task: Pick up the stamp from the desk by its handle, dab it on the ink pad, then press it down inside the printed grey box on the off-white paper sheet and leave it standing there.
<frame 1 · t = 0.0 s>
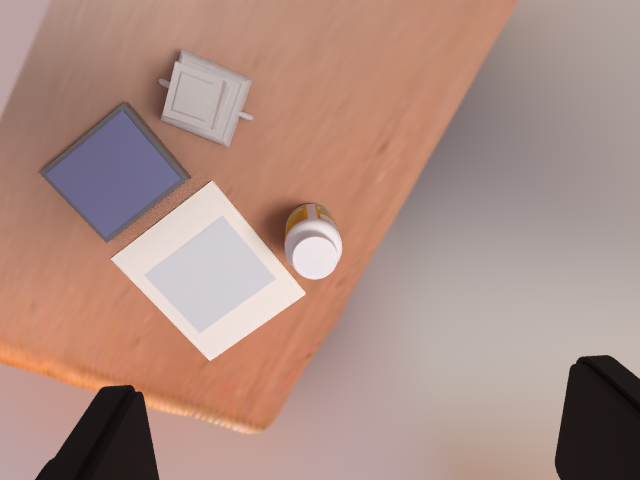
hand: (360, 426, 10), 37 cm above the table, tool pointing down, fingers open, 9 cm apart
supplement bottle: (310, 226, 47), on the table
stamp: (211, 100, 43), on the table
paper: (211, 276, 48), on the table
ink pad: (119, 174, 44), on the table
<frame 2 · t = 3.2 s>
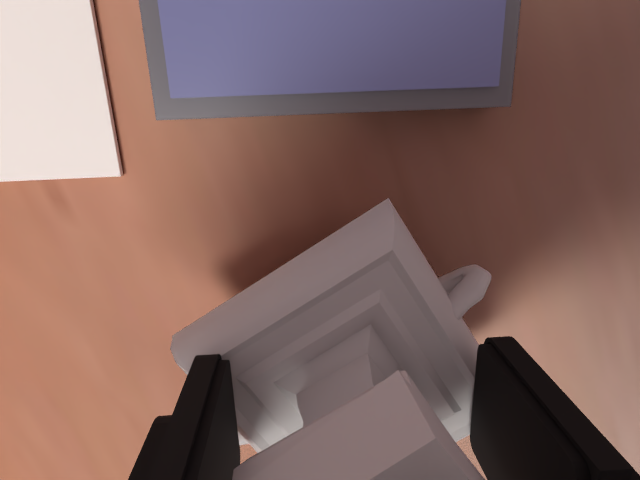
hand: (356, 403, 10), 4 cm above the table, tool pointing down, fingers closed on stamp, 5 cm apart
stamp: (336, 316, 14), on the table, touching gripper
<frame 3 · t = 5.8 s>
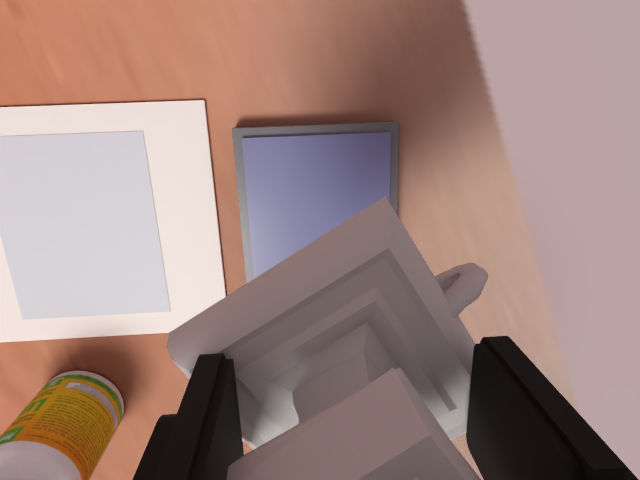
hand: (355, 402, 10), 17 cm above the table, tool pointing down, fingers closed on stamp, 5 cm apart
supplement bottle: (86, 400, 30), on the table
stamp: (333, 314, 14), point 13 cm above the table, touching gripper
paper: (81, 229, 26), on the table
ink pad: (318, 218, 26), on the table
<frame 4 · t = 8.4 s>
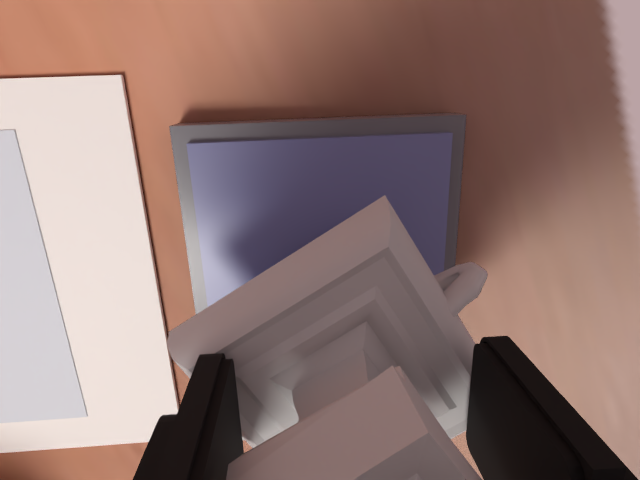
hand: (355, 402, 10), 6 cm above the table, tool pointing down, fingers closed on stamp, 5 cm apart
stamp: (333, 313, 14), point 2 cm above the table, touching gripper
ink pad: (323, 272, 16), on the table
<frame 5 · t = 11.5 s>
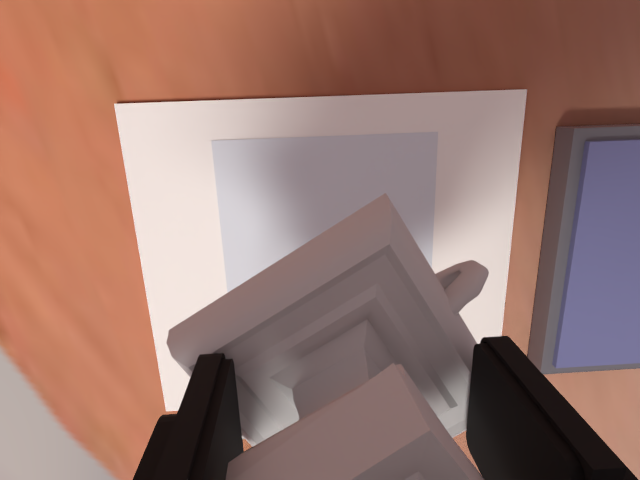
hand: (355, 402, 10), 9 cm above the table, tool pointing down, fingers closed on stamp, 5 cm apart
stamp: (333, 312, 14), point 5 cm above the table, touching gripper
paper: (329, 263, 19), on the table
ink pad: (637, 248, 20), on the table
when the fingers open (5 cm above the table, at t = 13.8 s): stamp stays where it is, resting on paper.
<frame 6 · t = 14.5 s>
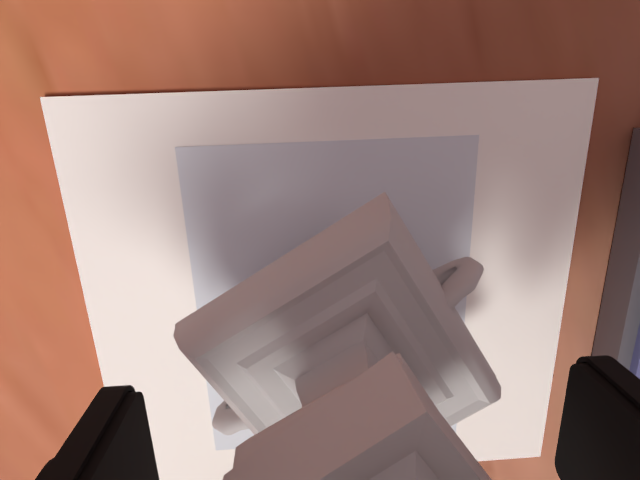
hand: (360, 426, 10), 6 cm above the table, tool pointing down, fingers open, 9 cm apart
stamp: (333, 307, 15), resting on paper
paper: (333, 305, 15), on the table
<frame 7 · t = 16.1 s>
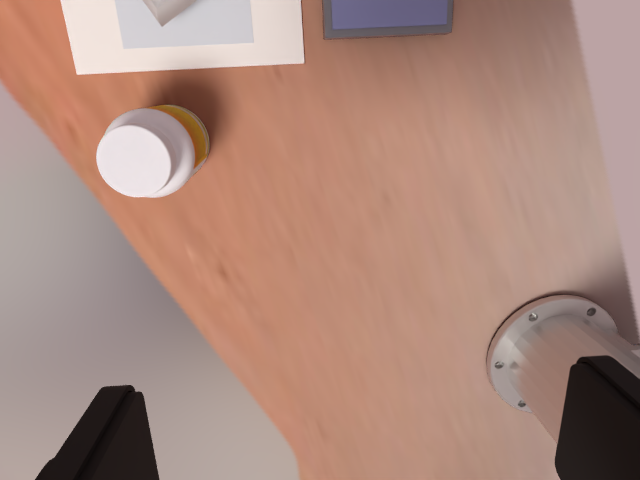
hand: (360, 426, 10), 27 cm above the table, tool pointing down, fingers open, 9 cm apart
supplement bottle: (174, 141, 33), on the table
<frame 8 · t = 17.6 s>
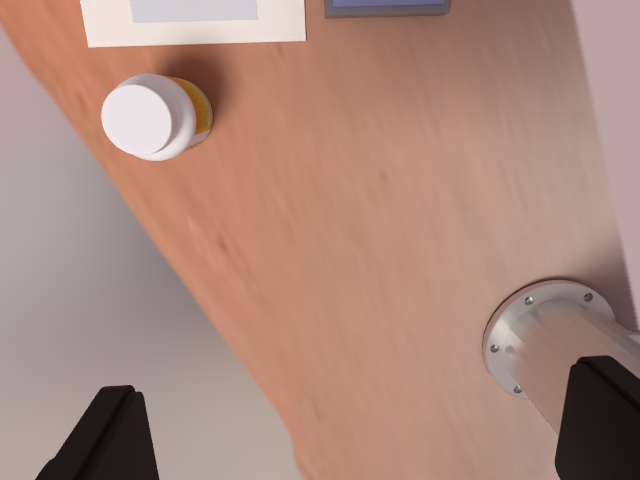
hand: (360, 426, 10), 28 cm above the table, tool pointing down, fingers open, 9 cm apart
supplement bottle: (179, 114, 34), on the table
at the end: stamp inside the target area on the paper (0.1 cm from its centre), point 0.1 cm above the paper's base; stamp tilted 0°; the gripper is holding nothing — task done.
